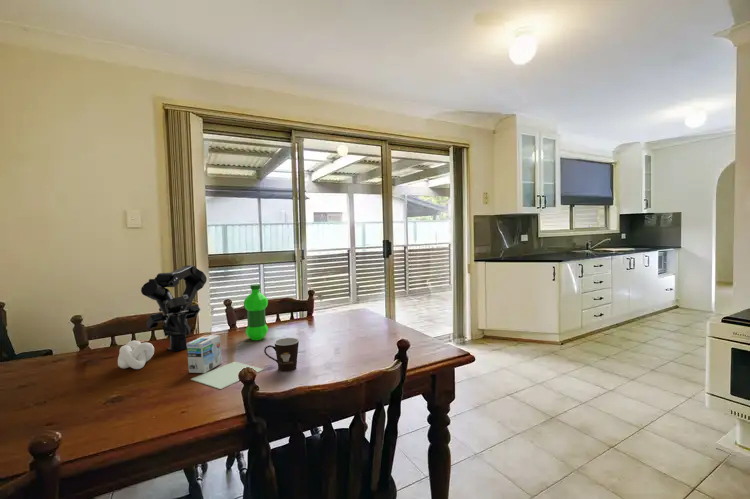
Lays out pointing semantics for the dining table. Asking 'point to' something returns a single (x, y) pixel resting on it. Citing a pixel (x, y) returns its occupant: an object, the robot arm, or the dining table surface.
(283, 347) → the coffee mug
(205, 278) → the robot arm
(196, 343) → the light bulb box
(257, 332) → the plastic bottle
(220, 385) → the mat
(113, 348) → the dining table surface
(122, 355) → the white decorative knot
